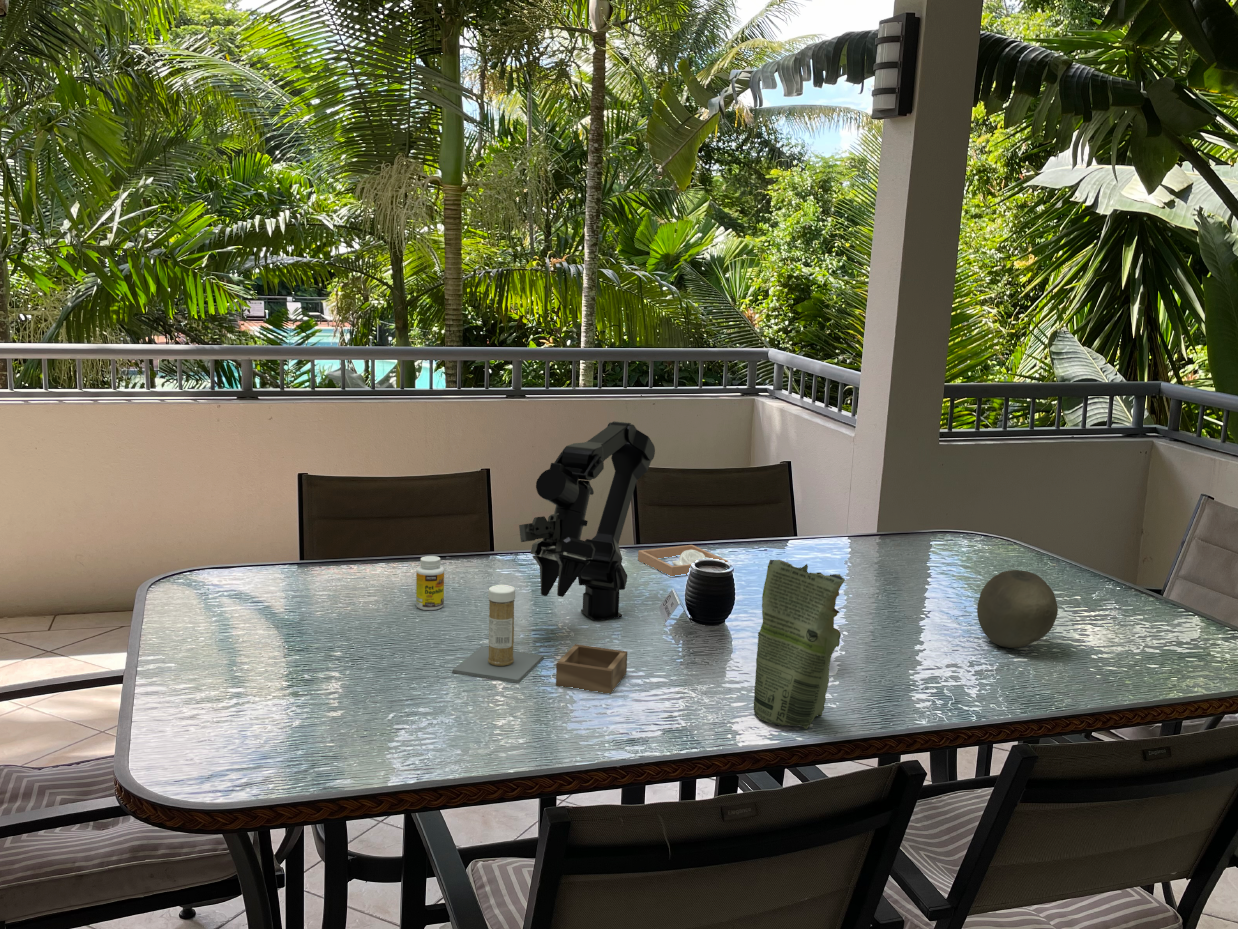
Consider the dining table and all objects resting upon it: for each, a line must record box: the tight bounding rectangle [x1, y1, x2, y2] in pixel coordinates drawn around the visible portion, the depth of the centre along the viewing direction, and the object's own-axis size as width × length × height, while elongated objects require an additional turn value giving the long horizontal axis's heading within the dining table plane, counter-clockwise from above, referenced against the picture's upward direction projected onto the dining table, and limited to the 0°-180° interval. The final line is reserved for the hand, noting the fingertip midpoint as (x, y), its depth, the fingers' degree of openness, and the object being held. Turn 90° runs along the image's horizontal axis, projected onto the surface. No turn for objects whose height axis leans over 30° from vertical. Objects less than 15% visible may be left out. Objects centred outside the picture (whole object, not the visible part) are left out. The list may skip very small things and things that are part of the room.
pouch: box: [753, 559, 846, 730], centre depth 154 cm, size 11×12×25 cm
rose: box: [672, 550, 708, 566], centre depth 238 cm, size 10×4×10 cm
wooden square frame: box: [637, 544, 729, 576], centre depth 239 cm, size 16×16×2 cm
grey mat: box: [451, 645, 545, 684], centre depth 173 cm, size 12×12×1 cm
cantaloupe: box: [976, 569, 1059, 649], centre depth 190 cm, size 14×14×15 cm
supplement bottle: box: [415, 555, 445, 611], centre depth 201 cm, size 6×6×10 cm
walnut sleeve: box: [555, 643, 628, 695], centre depth 168 cm, size 10×10×4 cm
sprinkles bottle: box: [487, 584, 516, 666], centre depth 171 cm, size 5×5×13 cm
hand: (551, 596), depth 180 cm, fingers open, 9 cm apart
